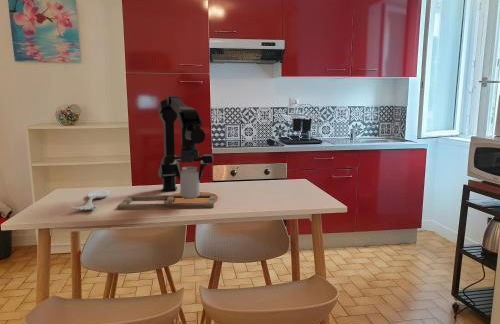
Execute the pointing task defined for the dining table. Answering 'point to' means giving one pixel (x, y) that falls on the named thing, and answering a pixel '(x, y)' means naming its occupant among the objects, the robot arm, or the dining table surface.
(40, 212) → the dining table surface
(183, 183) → the can
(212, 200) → the ladder rack
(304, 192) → the dining table surface
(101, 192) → the spoon
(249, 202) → the dining table surface
